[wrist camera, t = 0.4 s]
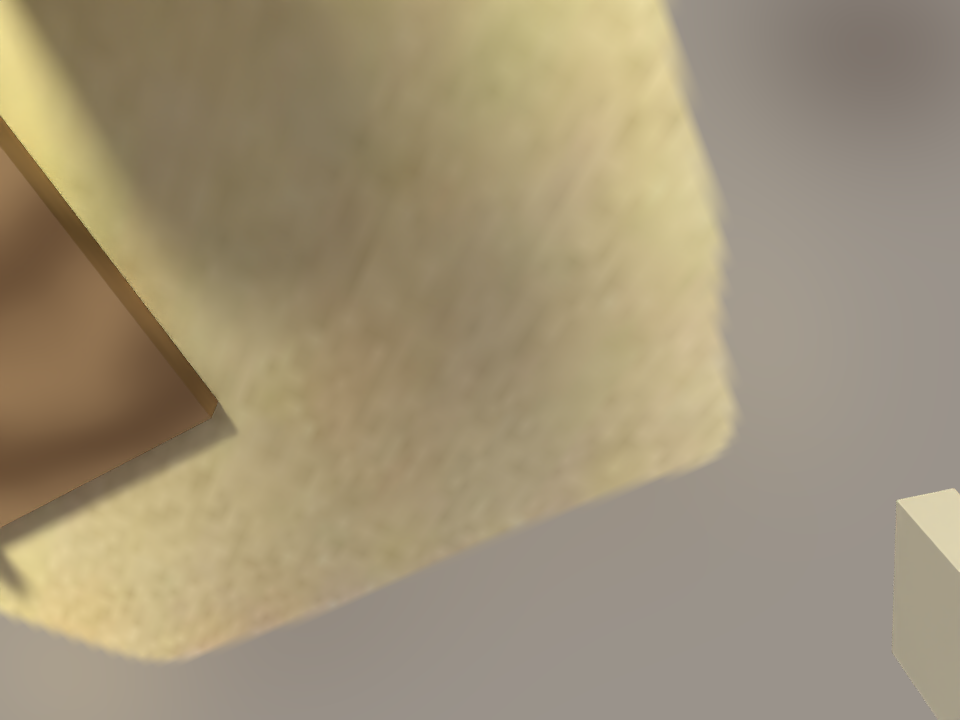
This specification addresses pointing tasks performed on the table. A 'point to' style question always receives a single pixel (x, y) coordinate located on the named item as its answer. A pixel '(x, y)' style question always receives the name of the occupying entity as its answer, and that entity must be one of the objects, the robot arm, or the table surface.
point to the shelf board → (74, 351)
